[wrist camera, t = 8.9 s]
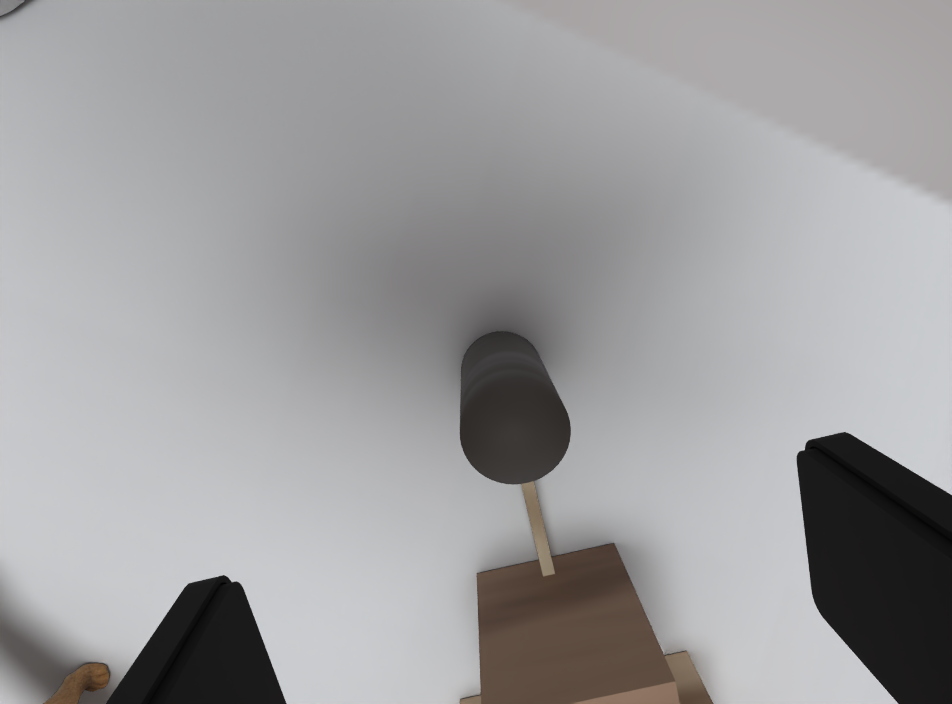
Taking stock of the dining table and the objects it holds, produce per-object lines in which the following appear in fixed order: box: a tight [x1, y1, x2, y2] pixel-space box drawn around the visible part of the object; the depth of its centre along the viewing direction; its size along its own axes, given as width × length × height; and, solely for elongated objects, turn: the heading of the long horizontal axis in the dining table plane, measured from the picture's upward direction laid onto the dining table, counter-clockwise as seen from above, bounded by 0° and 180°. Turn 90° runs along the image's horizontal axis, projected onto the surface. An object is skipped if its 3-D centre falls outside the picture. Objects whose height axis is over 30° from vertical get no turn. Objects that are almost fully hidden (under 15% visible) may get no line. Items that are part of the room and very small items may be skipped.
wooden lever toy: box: [460, 332, 680, 704], centre depth 23 cm, size 16×6×8 cm, turn 13°
